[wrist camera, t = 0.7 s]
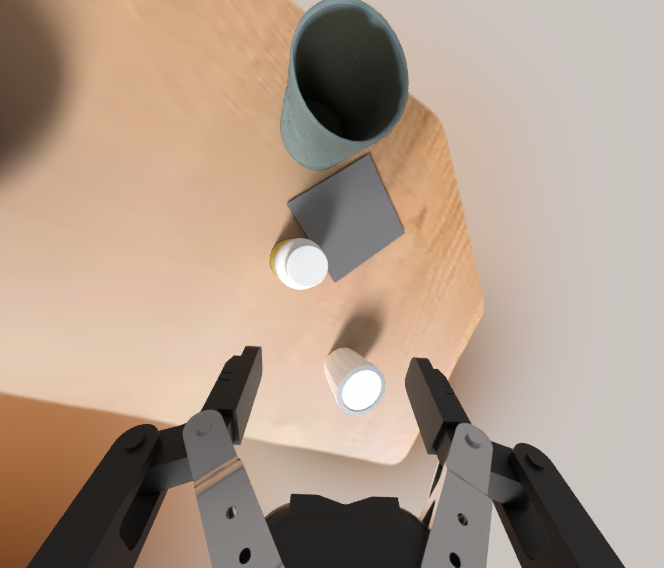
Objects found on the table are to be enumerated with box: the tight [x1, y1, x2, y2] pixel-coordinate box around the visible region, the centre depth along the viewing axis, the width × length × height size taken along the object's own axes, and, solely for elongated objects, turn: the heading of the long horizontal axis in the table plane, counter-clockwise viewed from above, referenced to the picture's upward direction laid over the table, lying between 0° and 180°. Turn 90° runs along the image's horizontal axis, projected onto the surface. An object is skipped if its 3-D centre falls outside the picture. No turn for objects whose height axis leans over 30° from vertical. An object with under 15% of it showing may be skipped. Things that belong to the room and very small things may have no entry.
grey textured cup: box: [280, 0, 409, 170], centre depth 25 cm, size 10×10×12 cm
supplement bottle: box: [270, 238, 328, 289], centre depth 27 cm, size 5×5×10 cm
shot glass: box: [324, 347, 386, 416], centre depth 33 cm, size 7×7×7 cm
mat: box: [287, 154, 405, 282], centre depth 33 cm, size 13×12×1 cm
